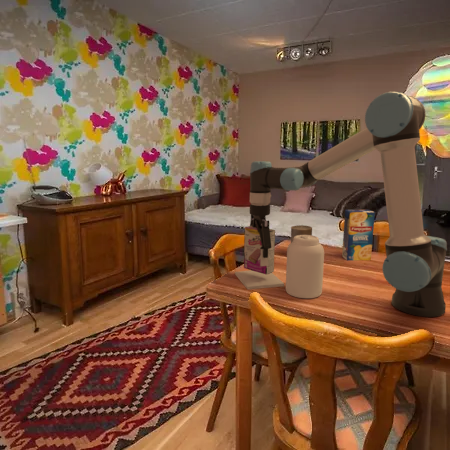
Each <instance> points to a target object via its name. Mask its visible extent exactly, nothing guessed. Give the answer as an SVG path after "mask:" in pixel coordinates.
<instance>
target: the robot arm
mask: <svg viewBox="0 0 450 450" xmlns="http://www.w3.org/2000/svg"><path fill="white" fill-rule="evenodd" d="M425 120H426V109H425V107H424V105H423V103H422V101H420V100H419V99H418V98H416V97H413V96H410V95H408V94H407V93H404V92H401V91H388V92H384V93H381V94H379V95H378V96H376V97H375V98H374V99H373V100H371V102H370V103H369V105H368V106H367V108H366V111H365V114H364V124H365V128H364V129H362V130H360V131H358V132H357V133H355V134H353V135H351V136H350V137H348V138H347V139H345V140H343V141H341V142H340V143H338V144H336V145H334V146H333V147H331V148H329V149H328V150H326V151H325V152H323V153H321V154H319V155H317V156H316V157H313V158H312V159H311V160H309V161H307V162H305V163H303V164H301V165H300V166H295V167H294V166H293V167H274V166H272V165H273V164H272V162H271V161H265V160H257V161H256V160H255V161H252V162H251V163H250V171H249V172H250V173H249V177H250V178H249V182H250V183H249V184H250V186H249V187H250V189H249V203H250V204H249V214H250V221H249V222H250V223H249V226H252V227H256V228H257V231H258V232H259V235H260V240H261V245H262V247H261V248H260V249H261V262H260V266H268V254H269V248H271V238H270V229H271V228H270V220H269V219H268V220H267V218H266V217H267V216H269V215H271V205H270V203H271V197H273V195H272V194H271V190H273V189H275V190H281V191H288V192H289V191H298V190H300V189H301V188H309V187H311V186H313V185H315V184H316V183H317V181H319V180H322V179H323V178H325V177H326V176H328V175H330V174H332V173H334V172H336V171H338V170H340V169H342V168H343V167H345V166H347V165H349V164H351V163H353V162H354V161H358V159H361V158H362V157H364V156H365V155H368V154H370V153H372V152H374V151H378V152H379V153H380V162H381V169H382V178H383V185H384V186H383V188H384V196H385V204H386V205H385V206H386V212H387V222H388V230H389V237H388V239H387V240H386V241H385V242H384V246H385V254H386V257H385V259H384V261H383V264H382V275H383V276H384V278H385V280H386V282H388V284H389V285H391V287H393V288H394V289H395V290H394V292H393V294H392V295H391V305H392V306H393V307H394V308H395V309H397V310H399V311H401V312H403V313H406V314H409V315H412V316H417V317H418V316H419V317H425V318H435V317H437V318H438V317H441V316H443V315H445V313H446V307H447V305H446V301H445V297H444V293H443V288H442V286H443V277H444V269H445V262H446V254H447V251H448V248H447V245H448V243H447V241H446V239H445V238H440V237H436V236H430V235H426V234H425V232H424V231H425V230H424V221H423V213H422V205H421V204H422V203H421V194H420V185H419V177H418V175H419V174H418V167H417V157H416V150H415V147H416V145H417V144H418V143H419V141H420V140H421V134H420V129H421V128H422V127H423V125H424V123H425Z"/></svg>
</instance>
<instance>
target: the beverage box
mask: <svg viewBox="0 0 450 450" xmlns="http://www.w3.org/2000/svg"><path fill="white" fill-rule="evenodd" d="M375 214H376V212H375V211H373V210H370V209H344V221H343V222H344V223H343V234H342V235H343V236H342V252H341V257H342V258H343V259H345V261H348V262H349V261H353V262H355V261H356V262H357V261H371V260H372V252H373V251H372V250H373V238H374V227H375V226H374V225H375V216H376V215H375Z"/></svg>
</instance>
